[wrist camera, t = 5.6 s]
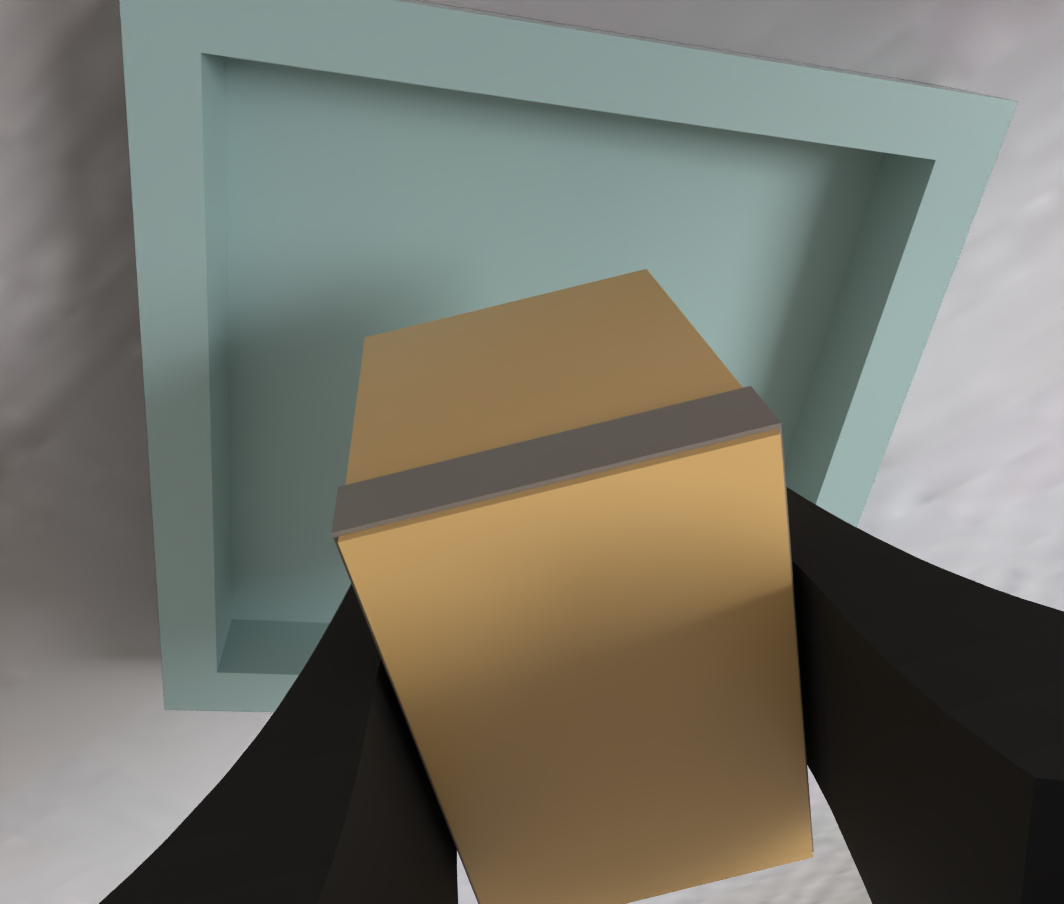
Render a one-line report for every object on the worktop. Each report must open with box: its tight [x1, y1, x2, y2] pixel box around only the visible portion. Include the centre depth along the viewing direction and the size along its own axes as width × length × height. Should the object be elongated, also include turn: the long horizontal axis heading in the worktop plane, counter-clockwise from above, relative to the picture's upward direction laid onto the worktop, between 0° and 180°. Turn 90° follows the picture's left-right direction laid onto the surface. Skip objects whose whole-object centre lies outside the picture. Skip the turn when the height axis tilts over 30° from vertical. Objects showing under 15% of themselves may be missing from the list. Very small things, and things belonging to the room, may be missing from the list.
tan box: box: [331, 269, 814, 904], centre depth 11 cm, size 4×6×5 cm
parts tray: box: [119, 0, 1018, 712], centre depth 16 cm, size 13×13×2 cm
